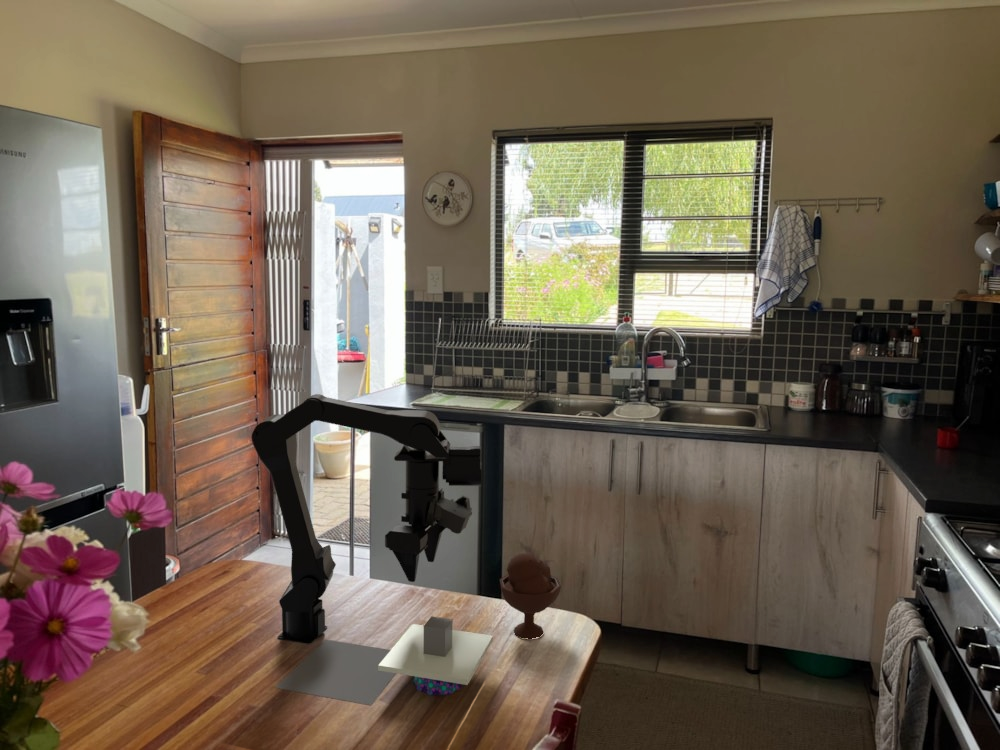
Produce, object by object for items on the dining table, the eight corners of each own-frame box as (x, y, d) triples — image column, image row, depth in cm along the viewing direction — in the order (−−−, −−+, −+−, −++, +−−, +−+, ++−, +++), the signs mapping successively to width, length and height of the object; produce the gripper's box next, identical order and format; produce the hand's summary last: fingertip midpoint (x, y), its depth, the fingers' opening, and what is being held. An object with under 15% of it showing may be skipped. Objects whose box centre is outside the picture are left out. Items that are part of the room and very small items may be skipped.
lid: (378, 670, 113) (378, 636, 112) (412, 628, 126) (412, 598, 126) (467, 685, 109) (467, 650, 109) (492, 640, 123) (493, 609, 122)
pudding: (491, 681, 120) (492, 650, 120) (447, 717, 110) (447, 684, 110) (431, 659, 127) (431, 629, 126) (384, 692, 117) (384, 660, 116)
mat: (275, 690, 116) (275, 687, 116) (325, 641, 131) (325, 639, 131) (371, 707, 112) (371, 705, 112) (411, 655, 127) (411, 653, 127)
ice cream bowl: (555, 650, 130) (558, 567, 128) (492, 642, 132) (494, 560, 130) (563, 622, 140) (565, 545, 138) (504, 616, 142) (505, 539, 140)
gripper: (448, 505, 119) (447, 599, 121) (482, 475, 137) (480, 557, 139) (383, 498, 122) (383, 590, 124) (424, 469, 140) (424, 550, 142)
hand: (421, 571), depth 132 cm, fingers open, 9 cm apart
